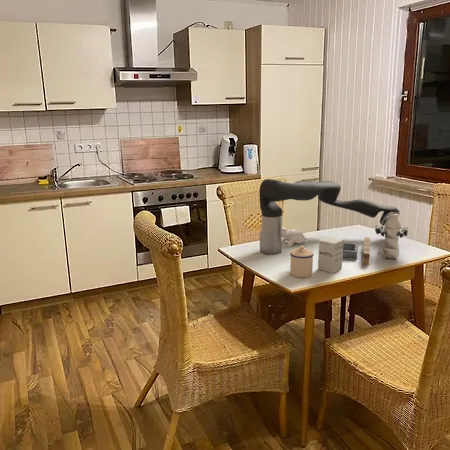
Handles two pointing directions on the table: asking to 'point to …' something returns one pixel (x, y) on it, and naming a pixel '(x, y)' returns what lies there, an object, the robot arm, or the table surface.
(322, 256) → the supplement box
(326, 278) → the table surface
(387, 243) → the silver bottle
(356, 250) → the keeper
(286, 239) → the white piece
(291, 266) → the teacup with lid
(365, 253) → the wooden plank
